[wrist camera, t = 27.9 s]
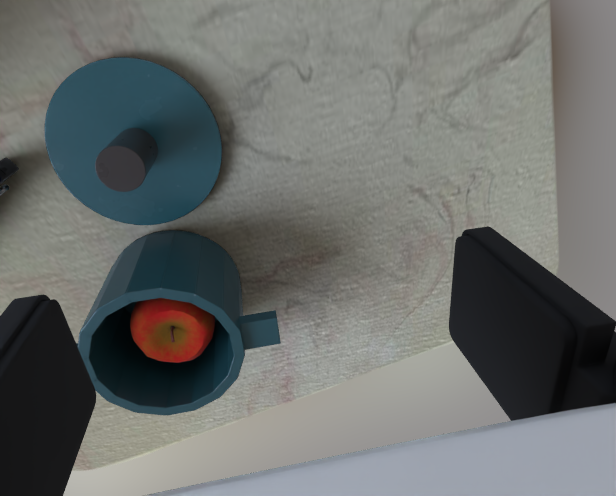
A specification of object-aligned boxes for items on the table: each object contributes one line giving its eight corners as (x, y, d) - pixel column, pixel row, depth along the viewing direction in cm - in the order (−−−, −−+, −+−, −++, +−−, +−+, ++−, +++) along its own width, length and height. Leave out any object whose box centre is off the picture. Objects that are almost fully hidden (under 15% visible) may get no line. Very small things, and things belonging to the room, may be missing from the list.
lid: (22, 66, 30) (-28, 75, 24) (205, 47, 31) (200, 52, 25) (81, 230, 35) (52, 269, 30) (233, 208, 37) (235, 242, 31)
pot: (59, 245, 36) (7, 311, 27) (260, 216, 37) (270, 270, 29) (101, 351, 41) (68, 434, 32) (276, 321, 43) (287, 393, 34)
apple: (131, 301, 38) (111, 357, 32) (161, 245, 37) (146, 292, 30) (197, 325, 41) (191, 382, 34) (228, 274, 39) (228, 324, 32)
